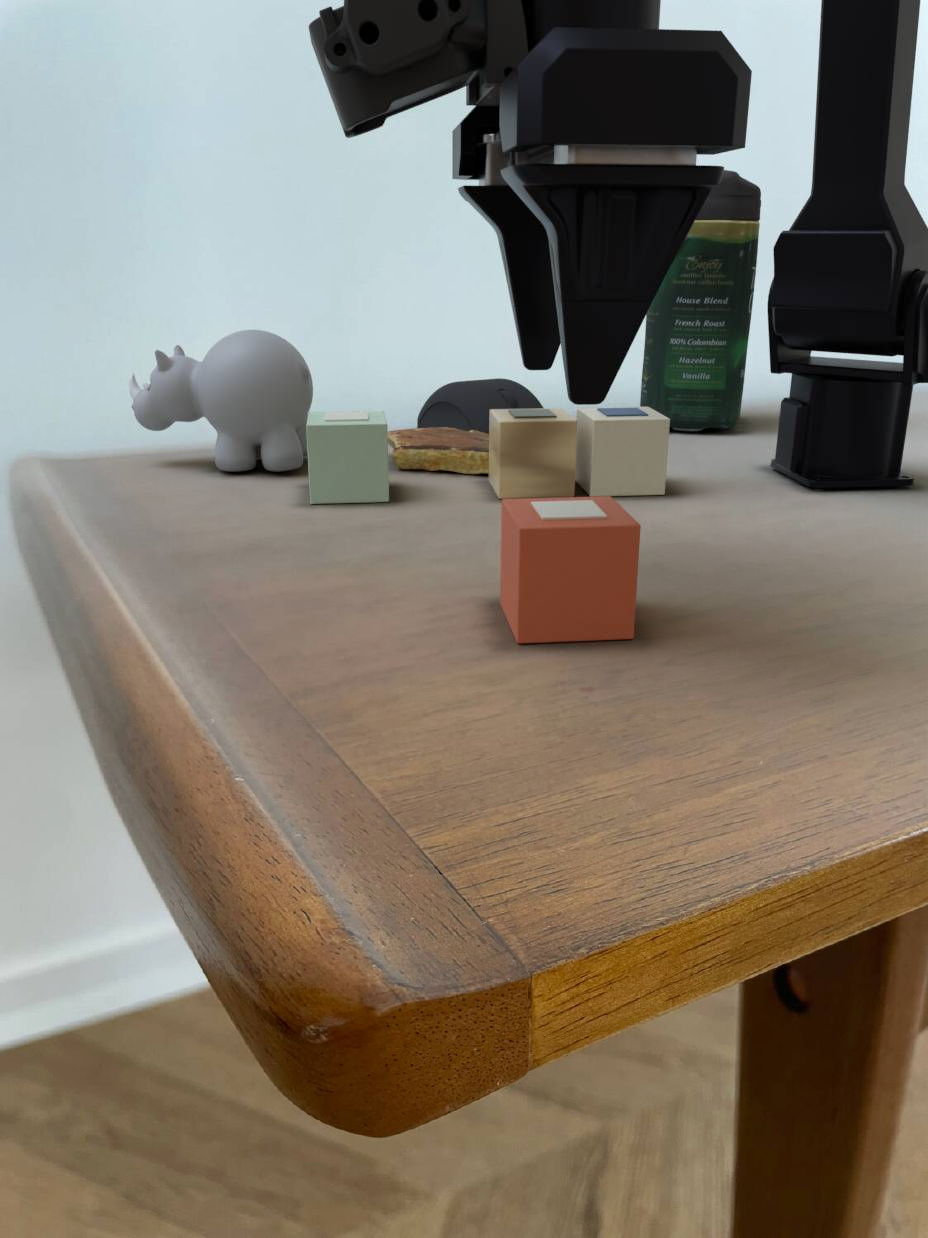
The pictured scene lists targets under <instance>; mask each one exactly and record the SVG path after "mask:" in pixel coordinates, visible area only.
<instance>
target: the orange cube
mask: <svg viewBox="0 0 928 1238" xmlns="http://www.w3.org/2000/svg"><path fill="white" fill-rule="evenodd" d="M500 512H501V513H500V515H501V516H500V517H501V519H500V523H501V524H500V525H501V526H500V530H501V531H500V577H499V578H500V579H499V580H500V581H499V585H500V586H499V587H500V588H499V600H500V601H499V604H500V607H501V609H502V612H503V613H504V616H505V618H506V620H507V623H508V625H509V628H510V629H511V632H512V634H513V636H514V639H515V641H516V643H517V644H541V643H566V642H567V643H568V642H590V641H614V640H615V641H616V640H617V641H618V640H633V639H634V638H635V623H636V607H637V594H638V593H637V592H638V575H639V560H640V544H641V543H640V542H641V529H642V527H641V524H640V523H639V522H638V521H637V520H636V519H635V518H634V517H633V516H632V515H631V514H630V513H629V512H628V511H627V510H626V509H624V507H622V506H621V505H620V504H619V503H618V502H617V501H616V500H615V499H614V498H613V496H599V497H591V496H574V497H558V498H517V499H501V511H500Z"/></svg>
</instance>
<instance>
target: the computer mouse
mask: <svg viewBox="0 0 928 1238" xmlns="http://www.w3.org/2000/svg"><path fill="white" fill-rule="evenodd" d="M537 408H544V406H543V405H542V403H541V402H540V401H539V399H538V397H536V396H535V394H534V393H533V392H532V391H531V390H529V389H528V388H527V387H526V386H524V385H523V384H521V383H519V382H517V381H515V380H512V379H509V378H508V379H507V378H488V379H487V378H486V379H485V378H484V379H472V380H461V381H460V380H459V381H453V382H450V383H446V384H444V385H442V386H441V387H439V388H437V389H436V390H435V391H434V392H433V393H432V394H431V395H430V396H428V398H427V400H426V401H425V402H424V404H423V405H422V407H421V409H420V411H419V413H418V415H417V421H416V422H417V423H416V425H417V426H416V427H417V428H416V429H419V428H430V427H447V428H454V429H458V430H463V431H468V432H469V431H471V430H476V431H479V432H483V433H487V434H489V411H490V409H537Z"/></svg>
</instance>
